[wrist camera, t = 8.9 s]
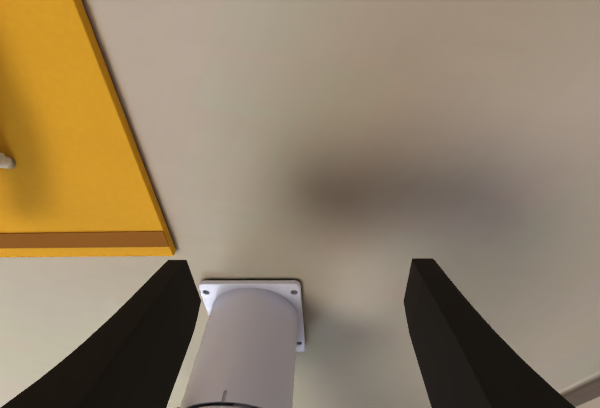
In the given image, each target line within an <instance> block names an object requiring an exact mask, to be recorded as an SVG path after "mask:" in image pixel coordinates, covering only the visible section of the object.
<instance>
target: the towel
mask: <svg viewBox="0 0 600 408" xmlns="http://www.w3.org/2000/svg"><path fill="white" fill-rule="evenodd" d="M0 153H4V154H5V156H10V157H12V158H13V159H14V160H15V162H16V166H15V168H13V169H6V168H0V257H85V256H173V255H174V254H175V252H176V249H175V246H174V244H173V241H172V238H171V236H170V233H169V230H168V228H167V225H166V223H165V220H164V217H163V215H162V212H161V209H160V207H159V204H158V201H157V199H156V196H155V193H154V191H153V188H152V186H151V183H150V180H149V178H148V175H147V172H146V170H145V167H144V164H143V162H142V159H141V157H140V154H139V151H138V149H137V146H136V143H135V141H134V138H133V135H132V133H131V130H130V127H129V125H128V122H127V120H126V117H125V114H124V112H123V109H122V106H121V104H120V101H119V98H118V96H117V93H116V90H115V88H114V85H113V83H112V80H111V77H110V75H109V72H108V69H107V67H106V64H105V61H104V59H103V56H102V53H101V51H100V48H99V46H98V43H97V40H96V38H95V35H94V32H93V30H92V27H91V24H90V22H89V19H88V17H87V14H86V11H85V9H84V6H83V3H82V1H81V0H0Z"/></svg>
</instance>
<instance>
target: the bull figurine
mask: <svg viewBox="0 0 600 408" xmlns="http://www.w3.org/2000/svg"><path fill="white" fill-rule="evenodd" d="M15 166H16V162H15V160H14V159H13V158H12V157H10V156H5V154H4V153H0V168H6V169H13V168H15Z"/></svg>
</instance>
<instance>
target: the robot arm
mask: <svg viewBox="0 0 600 408" xmlns="http://www.w3.org/2000/svg"><path fill="white" fill-rule="evenodd" d="M199 290H200V293H201V296H202V299H203V301H204V304H205V307H206V310H207V313H208V315H209V318H208V321H207V325H206V328H205V331H204V334H203V337H202V340H201V344H200V347H199V350H198V353H197V356H196V359H195V363H194V366H193V369H192V372H191V375H190V378H189V381H188V385H187V388H186V391H185V394H184V397H183V400H182V404H181V407H177V408H292V405H293V388H294V371H295V354H296V352H303V351H305V335H304V323H303V311H302V298H301V286H300V283H299V282H298V281H295V280H204V281H201V282H200V284H199ZM294 290H295V291H294ZM200 303H201V299H200V296H199V294H198V291H197V288H196V285H195V283H194V280H193V277H192V274H191V272H190V269H189V266H188V263H187V261H186V260H168V261H167V262H166V263H165V264H164V265H163V266H162V267H161V268H160V269H159V270H158V271H157V272H156V273H155V274H154V275H153V276H152V277H151V278H150V279H149V280H148V281H147V282H146V283H145V284H144V285H143V286H142V287H141V288H140V289H139V290H138V291H137V292H136V293H135V294H134V295H133V296H132V297H131V298H130V299H129V300H128V301H127V302H126V303H125V304H124V305H123V306H122V307H121V308H120V309H119V310H118V311H117V312H116V313H115V314H114V315H113V316H112V317H111V318H110V319H109V320H108V321H107V322H105V323H104V324H103V325H102V326H101V327H100V328H99V329H98V330H97V331H96V332H95V333H94V334H92V335H91V336H90V337H89V338H88V339H87V340H86V341H85V342H84V343H83V344H81V345H80V346H79V347H78V348H77V349H76V350H75V351H73V352H72V353H71V354H70V355H69V356H67V357H66V358H65V359H64V360H63V361H61V362H60V363H59V364H58V365H56V366H55V367H54V368H53V369H51V370H50V371H49V372H48V373H46V374H45V375H44V376H43V377H41V378H40V379H39V380H38V381H36V382H35V383H34V384H32V385H31V386H29V387H28V388H27V389H25V390H24V391H23V392H21V393H20V394H19V395H17V396H16V397H15V398H13V399H12V400H10V401H9V402H8V403H6V404H5V405H4V406H2V407H1V408H166V407H167V404H168V401H169V398H170V395H171V393H172V390H173V387H174V384H175V382H176V379H177V376H178V374H179V371H180V368H181V365H182V363H183V360H184V357H185V355H186V352H187V349H188V346H189V344H190V341H191V338H192V335H193V332H194V329H195V325H196V321H197V317H198V312H199V307H200ZM404 306H405V312H406V317H407V323H408V328H409V333H410V337H411V340H412V344H413V347H414V350H415V354H416V357H417V360H418V364H419V367H420V370H421V374H422V377H423V380H424V384H425V387H426V390H427V394H428V397H429V400H430V404H431V407H432V408H575V407H574V406H573V405H572V404H571V403H569V402H568V401H567V400H566V399H565V398H564V397H563V396H561V395H560V394H559V393H558V392H557V391H556V390H555V389H553V388H552V387H551V386H550V385H549V384H548V383H547V382H546V381H545V380H544V379H543V378H542V377H540V376H539V375H538V374H537V373H536V372H535V371H534V370H533V369H532V368H531V367H530V366H529V365H528V364H527V363H526V362H525V361H524V360H523V359H521V358H520V357H519V356H518V355H517V354H516V353H515V352H514V351H513V350H512V348H511V347H510V346H509V345H508V344H507V343H506V342H505V341H504V340H503V339H502V338H501V337H500V336H499V335H498V334H497V333H496V332H495V331H494V330H493V329H492V328H491V327H490V325H489V324H488V323H487V322H486V321H485V320H484V319H483V318H482V317H481V315H480V314H479V313H478V312H477V311H476V310H475V309H474V308H473V306H472V305H471V304H470V303H469V302H468V301H467V299H466V298H465V297H464V296H463V295H462V294H461V292H460V291H459V290H458V289H457V288H456V286H455V285H454V284H453V283H452V281H451V280H450V279H449V278H448V276H447V275H446V274H445V273H444V271H443V270H442V269H441V268H440V266H439V265H438V264H437V263H436V261H435V260H434V259H412V263H411V268H410V273H409V278H408V283H407V287H406V292H405V297H404Z"/></svg>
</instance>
